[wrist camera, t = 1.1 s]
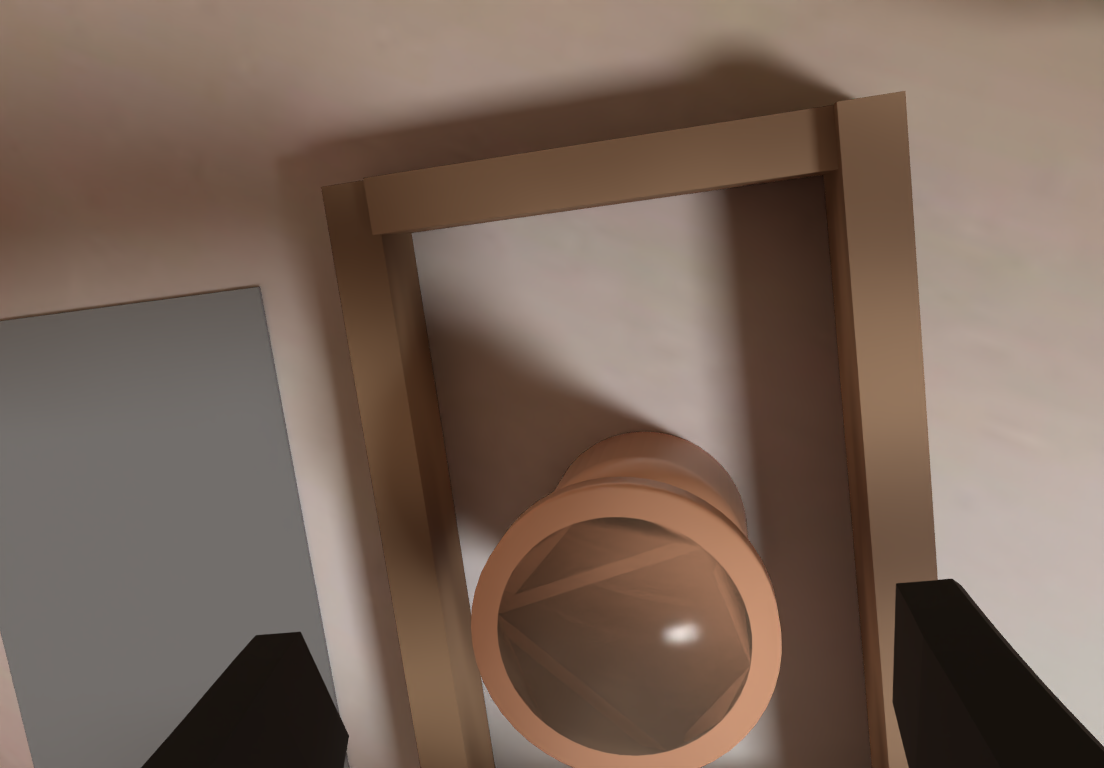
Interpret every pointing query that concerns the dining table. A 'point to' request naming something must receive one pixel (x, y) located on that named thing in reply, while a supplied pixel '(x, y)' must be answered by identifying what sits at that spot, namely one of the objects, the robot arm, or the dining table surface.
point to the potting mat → (143, 519)
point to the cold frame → (612, 178)
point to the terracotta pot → (630, 612)
